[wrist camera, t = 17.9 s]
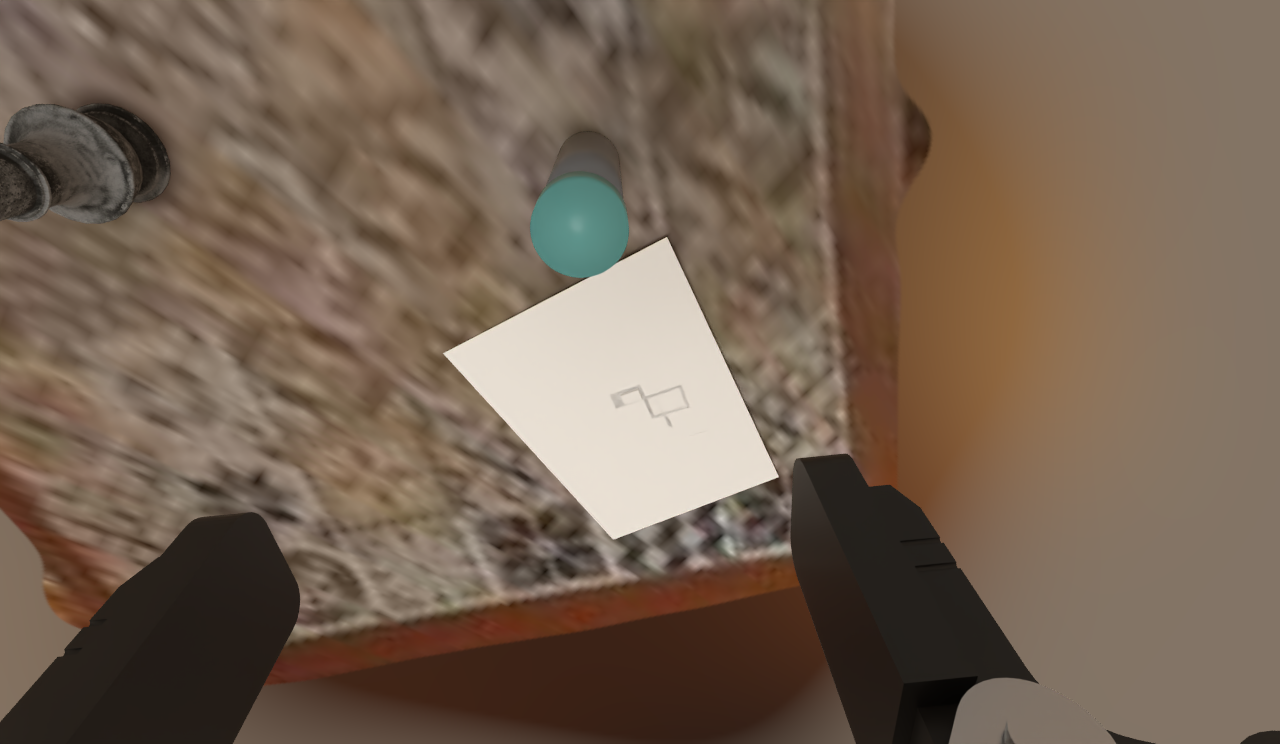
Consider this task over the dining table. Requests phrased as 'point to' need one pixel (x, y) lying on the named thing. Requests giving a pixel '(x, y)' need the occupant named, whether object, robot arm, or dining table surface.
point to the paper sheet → (622, 394)
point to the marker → (582, 209)
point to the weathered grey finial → (78, 163)
